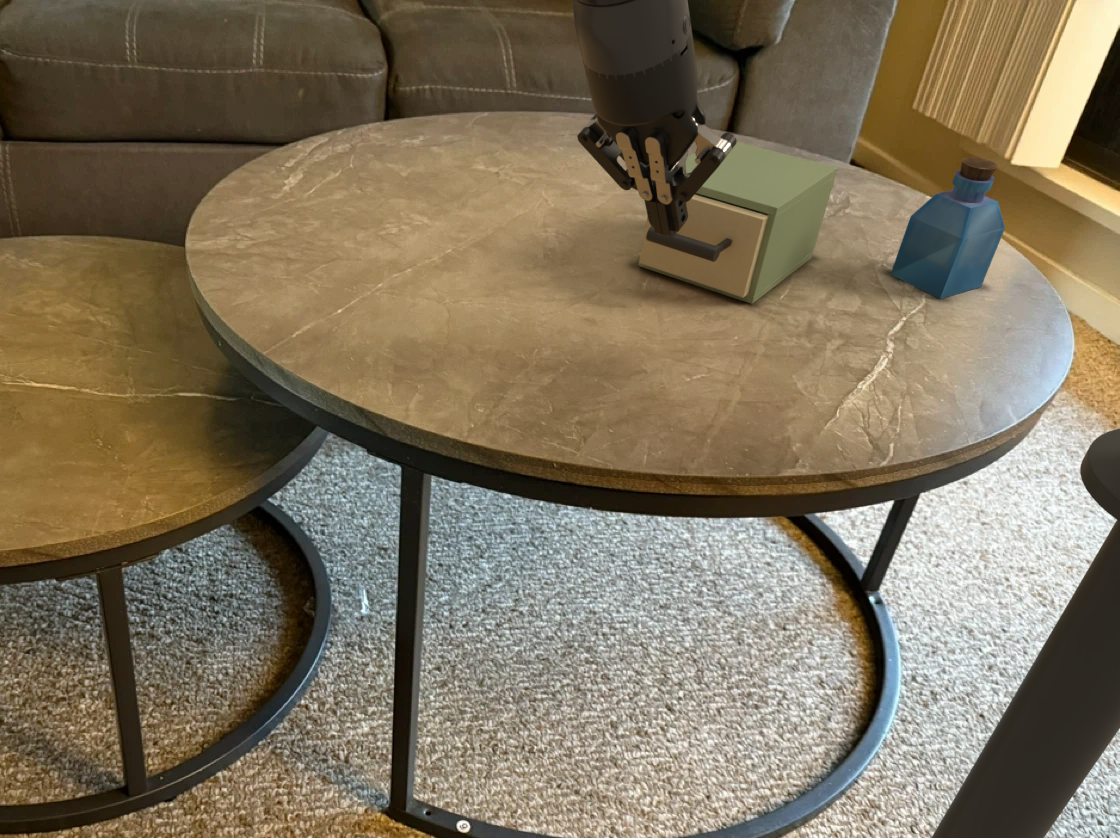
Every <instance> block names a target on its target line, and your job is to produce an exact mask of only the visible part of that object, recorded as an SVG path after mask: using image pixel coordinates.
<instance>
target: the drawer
mask: <svg viewBox="0 0 1120 838" xmlns="http://www.w3.org/2000/svg"><path fill="white" fill-rule="evenodd" d="M686 205H687V206H686V207H687V211H688V219H687V221H686V222H685V224H684V225H683V226H682V227H681V229H680V230H679V231H678V232H677V233H676V234H675V235H674V237H668V236H663V235H659V234H655V231H654V227H652V226H651V224H650V223H649V220H648V218H647V217H646V221H647V223H646V222H645V227H646V228H645V227H644V232H645V234H644V233H643V237H644V239H643V238H642V243H643V244H642V243H641V248H642V250H640V254H641V255H640V254H639V259H640V261H639V260H638V264H639V263H641V264H644V265H647V266H650V267H653V268H656V269H659V270H662V271H665V272H668V273H671V274H674V275H677V276H680V277H683V278H686V279H689V280H692V281H695V282H698V283H701V284H704V285H707V286H710V287H713V288H716V289H719V290H722V291H725V292H728V293H731V294H734V295H736V296H739V297H742V298H743V297H745V296H746V295H747V294H748V293H749V289H750V286H751V282H752V278H753V274H754V270H755V266H756V263H757V259H758V255H759V251H760V247H761V243H762V240H763V236H764V232H765V228H766V224H767V220H768V216H767V215H768V214H766V213H763V212H759V213H757V212H753V211H750V210H746V209H743V208H740V207H736V206H733V205H729V204H726V203H722V202H719V201H715V200H714V198H711V197H708V196H704V195H701V194H697V193H695V195H694V196H693V197H692V198H691V199H690V200H689V201H688V202H686Z"/></svg>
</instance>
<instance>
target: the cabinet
mask: <svg viewBox="0 0 1120 838" xmlns="http://www.w3.org/2000/svg"><path fill="white" fill-rule="evenodd" d="M696 158H697V157H696V154H695V152H693V153H691V154H688V157H687V160H686V173H691V172H692V171H693V170H694V168H695V167H696V166H697V165H698V164H697V163H696V162H695V159H696ZM838 169H839V167H837V166H833V165H829V164H826V163H821V162H818V161H814V160H810V159H806V158H803V157H798V156H794V155H791V154H786V153H783V152H779V151H775V150H771V149H767V148H764V147H759V146H757V145H756V146H755V145H752V144H748V143H745V142H740V141H737V143H736V145H735V146H734V147H733V149H732V150H731V151H730V153H729V154H728V155H727V157H726V158H725V159H724V160H723V162H722V163H721V164H720V166H719V167H718V168H717V169H716V170H715V172H714V173H713V174H712V175H711V176H710V177H709V178H708V180H707V181H706V182H705V183H704V184H703V185H702V187H701V188H700V189H699V190H698V191H697V192H696V193H697V194H701V195H704V196H708V197H711V198H714V199H718V200H721V201H725V202H728V203H732V204H735V205H739V206H742V207H745V208H749V209H752V210H756V211H759V212H763V213H766V214H768V215H767V216H768V220H767V224H766V228H765V232H764V236H763V240H762V243H761V247H760V251H759V255H758V259H757V263H756V266H755V270H754V274H753V278H752V282H751V286H750V289H749V293H748V294H747V295H746V296H745V297H743V298H742V297H739V296H736V295H734V294H731V293H728V292H725V291H722V290H719V289H716V288H713V287H710V286H707V285H704V284H701V283H698V282H695V281H692V280H689V279H686V278H683V277H680V276H677V275H674V274H671V273H668V272H665V271H662V270H659V269H656V268H653V267H650V266H647V265H644V264H641V263H639V261H640V258H639V260H638V267H641V268H644V269H646V270H649V271H652V272H655V273H659V274H661V275H665V276H667V277H671V278H674V279H677V280H679V281H681V282H685V283H688V284H691V285H693V286H698V287H699V288H703V289H706V290H709V291H712V292H715V293H717V294H721V295H724V296H727V297H730V298H732V299H736V300H739V301H742V302H745V303H748V304H751V305H753V304H754V303H756V302H757V301H758V300H760V299H761V298H762V297H763V296H764V295H766V294H767V293H768V292H770V291H771V290H773V289H774V288H775V287H776V286H777V285H779V284H780V283H781V282H783V281H784V280H785V279H786V278H788V277H789V276H790V275H792V274H793V273H794V272H795V271H797V270H798V269H799V268H801V267H802V266H803V265H805V264H806V263H807V262H808V261H809V260H811V259H812V258H813V254H814V251H815V248H816V244H817V241H818V237H819V234H820V230H821V228H822V224H823V220H824V217H825V213H826V210H827V207H828V203H829V200H830V197H831V193H832V189H833V186H834V183H835V179H836V176H837V173H838ZM647 218H648V215H647V217H646V219H647ZM646 223H647V220H646V221H645V224H646ZM645 228H646V226H645V227H644V229H645ZM644 234H645V231H644V233H643V235H644ZM643 239H644V236H643V238H642V240H643ZM642 244H643V242H642V243H641V245H642ZM640 249H641V250H642V247H641V248H640ZM641 250H640V251H641ZM640 255H641V253H640V254H639V256H640Z"/></svg>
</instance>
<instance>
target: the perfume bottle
mask: <svg viewBox="0 0 1120 838" xmlns="http://www.w3.org/2000/svg"><path fill="white" fill-rule="evenodd" d="M997 168H998V164H997V163H996V162H994V161H992V160H989V159H986V158H981V157H965V158H962V159H961V164H960V169H959V170H957V171H956V172H955V173H954V176H953V179H952V181H951V183H952V185H953V188H952V189H950V190H946V191H941V192H937V193H935V194H934V195H933V196H932V197H931V198H929V199H928V200H927V201H926V202H925V203H923V205H921V206H920V207H919V208H918V209H917V210H916V211H915V212H914V213H912V214H911V215H910V216H909V220H908V223H907V225H906V229H905V231H904V233H903V237H902V240H901V242H900V246H899V248H898V251H897V254H896V257H895V261H894V263H893V267H892V268H891V271H890V275H891V276H893V277H895V278H897V279H899V280H901V281H903V282H905V283H907V284H909V285H911V286H913V287H915V288H918V289H919V290H921V291H924V292H926V293H928V294H929V295H932V296H934V297H935V298H938V299H940V300H942V299H945V298H949V297H952V296H955V295H959V294H961V293H966V292H969V291H972V290H975V289H979V288H981V287H982V286H983V284H984V281H985V278H986V277H987V274H988V271H989V269H990V266H991V264H992V261H993V259H994V256H995V254H996V251H997V249H998V246H999V244H1000V241H1001V240H1002V237H1003V235H1004V232H1005V229H1006V226H1005V223H1004V218H1003V215H1002V211H1001V208H1000V204H999V201H998V200H995V199H993V198H991V197H988V196H986V193H987V192H990V191H991V189H992V187H993V184H994V181H995V178H994V176H993V174H994V173H995V171H996V170H997Z"/></svg>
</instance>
